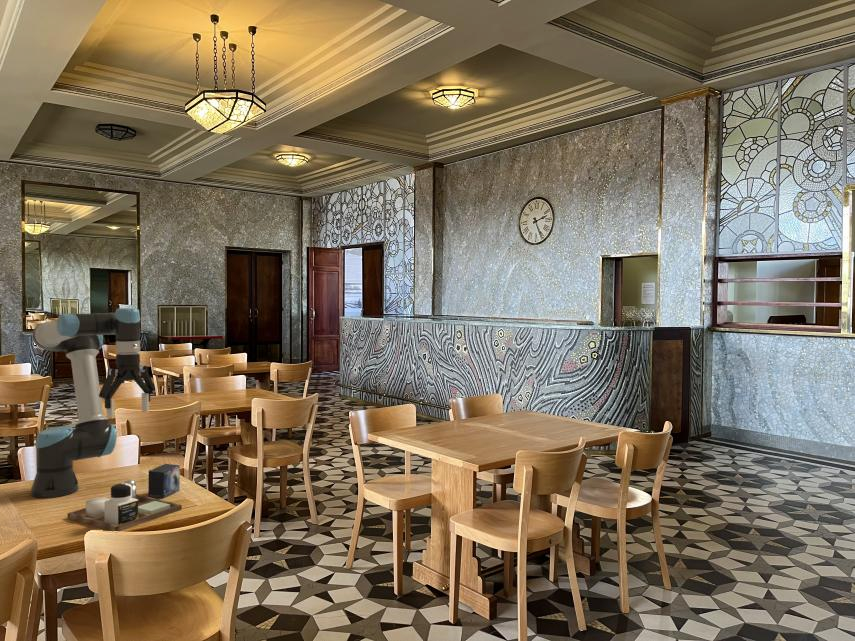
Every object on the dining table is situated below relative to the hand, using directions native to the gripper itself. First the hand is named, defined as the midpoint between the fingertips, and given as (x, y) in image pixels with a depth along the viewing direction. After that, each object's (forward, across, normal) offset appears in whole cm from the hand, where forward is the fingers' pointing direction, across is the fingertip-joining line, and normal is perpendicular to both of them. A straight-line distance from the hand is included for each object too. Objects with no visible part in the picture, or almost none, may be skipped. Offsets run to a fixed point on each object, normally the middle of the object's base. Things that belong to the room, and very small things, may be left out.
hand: (128, 414), depth 226 cm
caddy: (+31, -8, -9) cm, 34 cm away
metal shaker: (+31, -2, -3) cm, 31 cm away
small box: (+32, +13, -2) cm, 34 cm away
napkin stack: (+31, -2, -15) cm, 34 cm away
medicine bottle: (+31, -14, -15) cm, 37 cm away
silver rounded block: (+31, -14, -3) cm, 34 cm away
